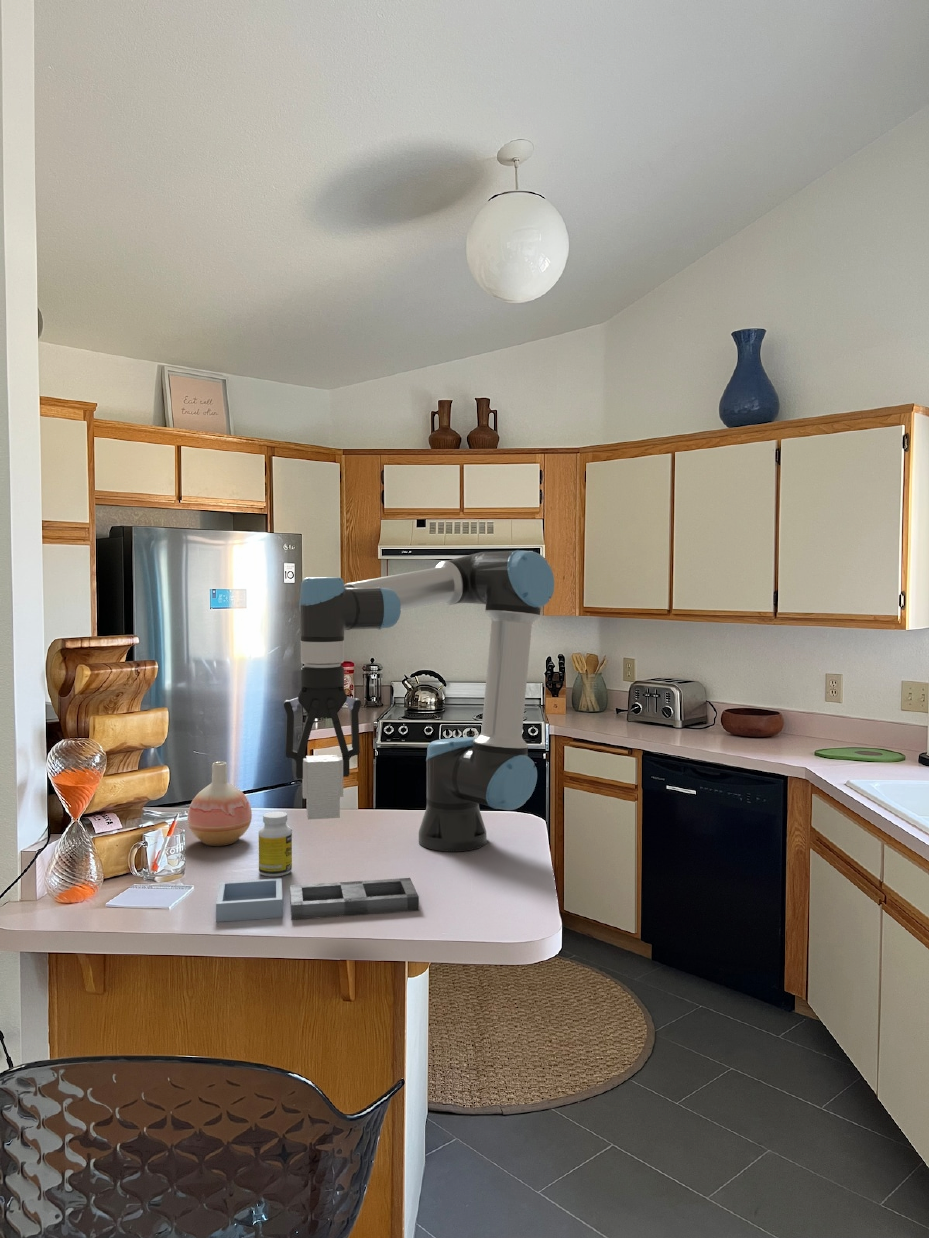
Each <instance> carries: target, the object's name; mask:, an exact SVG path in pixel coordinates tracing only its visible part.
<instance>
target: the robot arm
mask: <svg viewBox="0 0 929 1238" xmlns="http://www.w3.org/2000/svg"><path fill="white" fill-rule="evenodd" d="M554 590H555V575H554V573H553V569H552V566H551V565H550V564H549V563H548V561H547V559H546V558H545V556H543V555H542V554H540V553H538V552H536V551H529V550H520V549H517V550H503V551H498V550H497V551H480V552H476V553H472V554H468V555H465V556H461V557H457V558H454V559H453V558H452V559H449V560H443V561H440V562H439V563H437V564H436V566H435V567H431V568H427V569H426V568H425V569H420V570H413V571H409V572H404V573H398V574H393V575H386V576H381V577H377V578H369V579H365V580H360V581H354V582H347V583H344V579H343V578H342V577H333V576H332V577H331V576H330V577H327V576H325V577H322V576H321V577H319V576H318V577H316V576H314V577H312V576H311V577H310V576H308V577H305V578H303V580H302V581H301V584H300V596H299V597H300V598H299V602H298V607H299V608H298V610H299V614H300V663H301V664H303V666H301V668H300V692H299V693H298V695H297V697H295V698H292V699H285V700H284V701H283V708H284V710H285V714H286V726H285V730H286V731H285V750H284V751H285V757H286V758H288V759H289V758H290V759H292V760H294V761H295V777H296V779H297V780H298V779H299V780H302V799H304V800H305V799H306V800H307V758H306V757H305V755H306V754H305V753H306V750H307V746H308V743H309V739H310V735H311V733H312V732H311V731H312V728H313V725H314V724H315V723H314V722H315V719H316V720H317V719H318V720H319V719H321V718H324V719H331V722H332V726H333V729H334V732H335V735H336V739H337V743H338V746H339V749H340V754H341V756H338V758H339V761H340V798H343V797H344V778H348V777H349V776H350V775H351V774H350V759H351V758H353V757H354V756H358V755H360V753H361V746H360V745H361V744H360V725H359V724H360V723H359V721H360V720H359V713H360V709H361V706H362V701H361V700H360V698H359V697H351V696H348V695H347V694H346V691H345V668H344V666H343V665H342V664H343V663H344V662H345V631H351V630H382V629H389V628H392V627H394V626H395V625H396V624H397V623H398V622H399V620H400V617H401V612H402V611H406V610H410V609H417V608H420V607H424V606H430V605H434V604H439V603H443V604H444V605H447V606H452V605H453V606H454V605H457V604H474V605H475V604H478V605H485V614H487V616H488V617H489V619H490V620H491V622H490V623H491V624H490V632H489V633H490V635H489V647H488V654H487V655H488V658H487V665H486V667H487V668H486V679H485V687H484V689H485V690H484V697H483V698H484V701H483V709H482V710H483V711H482V720H481V721H482V722H481V731H480V733H479V735H477V736H476V737H475V736H466V737H464V736H463V737H460V736H459V737H453V738H452V737H450V738H443V739H436V740H433V741H431V742H430V743H429V744H428V746H427V749H426V752H427V753H426V759H425V762H426V769H425V770H426V773H425V775H426V777H425V778H426V807H425V808H426V809H425V811H424V813H423V817H422V820H421V823H420V827H419V829H418V844H419V845H420V846H421V847H424V848H426V849H429V850H433V851H434V850H435V851H440V852H463V851H464V852H465V851H472V850H476V849H479V848H481V847H483V846H485V845H486V844H487V836H488V835H487V829H486V826H485V823H484V820H483V817H482V812H481V810H480V805H484V806H487V807H490V808H492V809H494V810H495V809H496V810H498V809H499V810H504V811H513V810H517V809H518V808H519V809H520V807H522V806H524V804H526V802H527V801H528V800H530V797H532V794H533V792H534V791H535V789H536V788H535V787H536V786H537V785H536V784H537V780H538V770H537V767H536V765H535V762H534V761H533V759H531V758H530V757H529V756H528V754H529V753H528V752H529V751H528V750H529V745H528V744H527V742H526V741H525V740H524V738H523V727H524V725H523V724H524V716H525V705H526V695H527V694H526V693H527V682H528V671H529V661H530V648H531V639H532V638H531V637H532V627H533V625H534V623H535V621H537V620H538V619H540V617H541V609H542V607H544V606H546V605H547V604H548V603H549V602H550V599H552V597H553V594H554ZM345 704H347V708H348V710H349V711H350V714H349V715H350V734H351V735H350V737H351V747H350V748H348V745H347V741H346V738H345V735H344V732H343V728H342V724H341V722H340V717H339V716H338V715H339V714H338V713H339V712H340V710H341V709H342V707H343V706H344V705H345ZM298 705H301V707H302V708H303V709H304V711H305V712H306V716H305V722H304V724H303V727H302V732H301V735H300V738H299V742H298V745H297V749H296V750H294V734H295V733H294V729H295V713H294V712H296V711H297V710H298Z"/></svg>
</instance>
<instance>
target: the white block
mask: <svg viewBox="0 0 929 1238" xmlns="http://www.w3.org/2000/svg"><path fill="white" fill-rule="evenodd" d="M338 757H339V756H338V754H325V755H306V756H305V758H307V798H306V817H307V820H325V819H327V820H328V819H340V818H341V815H340V811H341V807H340V806H341V804H340V803H341V801H340V800H341V799H340V798H341V797H340V761H339V758H338Z"/></svg>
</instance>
